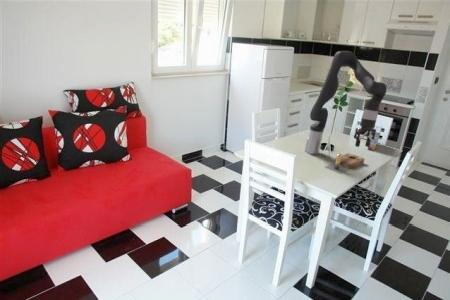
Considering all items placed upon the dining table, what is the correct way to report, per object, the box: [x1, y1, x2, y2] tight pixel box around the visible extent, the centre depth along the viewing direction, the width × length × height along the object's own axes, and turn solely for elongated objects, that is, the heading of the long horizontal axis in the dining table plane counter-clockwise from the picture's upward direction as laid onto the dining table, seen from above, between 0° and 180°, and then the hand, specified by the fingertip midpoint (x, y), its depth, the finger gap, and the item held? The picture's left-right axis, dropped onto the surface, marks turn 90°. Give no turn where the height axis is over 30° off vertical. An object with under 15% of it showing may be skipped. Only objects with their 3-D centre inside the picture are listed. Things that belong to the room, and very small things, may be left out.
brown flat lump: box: [334, 152, 365, 170], centre depth 217 cm, size 12×18×4 cm, turn 132°
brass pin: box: [334, 153, 343, 170], centre depth 204 cm, size 3×3×10 cm
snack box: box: [367, 125, 383, 152], centre depth 251 cm, size 21×6×15 cm, turn 151°
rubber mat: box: [324, 163, 349, 175], centre depth 206 cm, size 12×10×1 cm
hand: (362, 146), depth 180 cm, fingers open, 8 cm apart
